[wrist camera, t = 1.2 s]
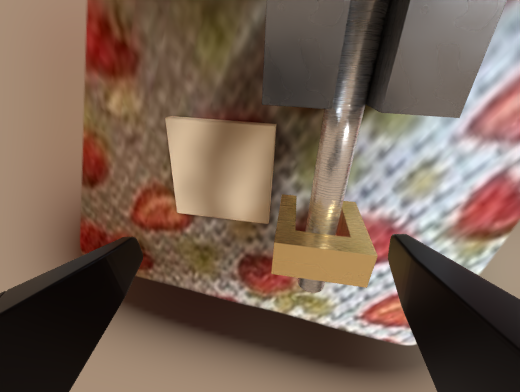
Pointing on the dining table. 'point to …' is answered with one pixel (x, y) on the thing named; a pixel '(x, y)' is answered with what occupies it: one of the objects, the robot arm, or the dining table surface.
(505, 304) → the robot arm
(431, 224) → the dining table surface
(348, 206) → the tan u-shaped bracket
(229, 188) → the birch pad
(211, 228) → the dining table surface
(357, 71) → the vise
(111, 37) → the dining table surface
